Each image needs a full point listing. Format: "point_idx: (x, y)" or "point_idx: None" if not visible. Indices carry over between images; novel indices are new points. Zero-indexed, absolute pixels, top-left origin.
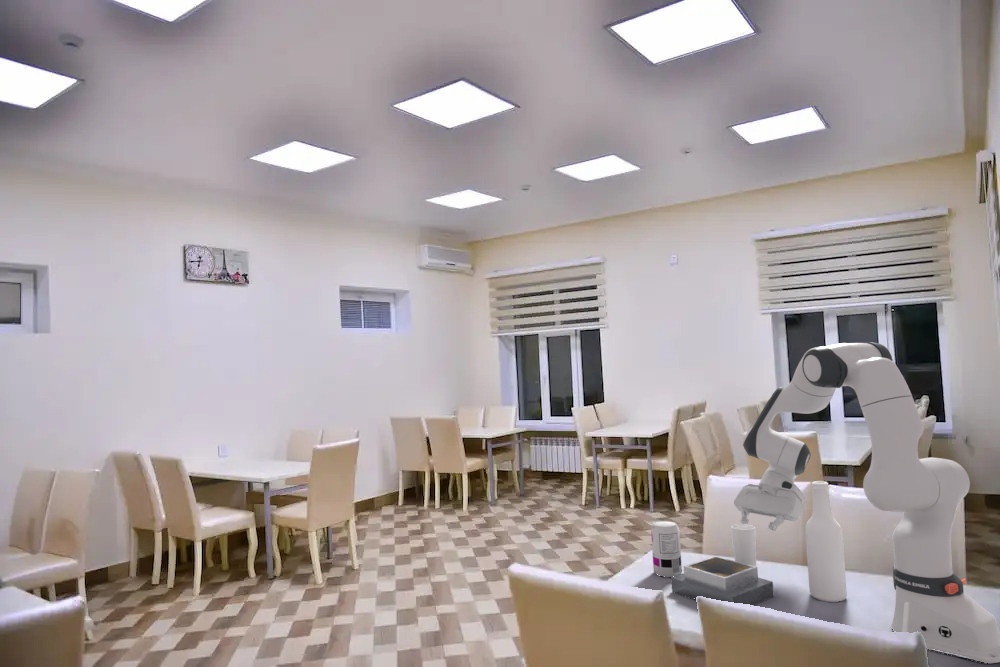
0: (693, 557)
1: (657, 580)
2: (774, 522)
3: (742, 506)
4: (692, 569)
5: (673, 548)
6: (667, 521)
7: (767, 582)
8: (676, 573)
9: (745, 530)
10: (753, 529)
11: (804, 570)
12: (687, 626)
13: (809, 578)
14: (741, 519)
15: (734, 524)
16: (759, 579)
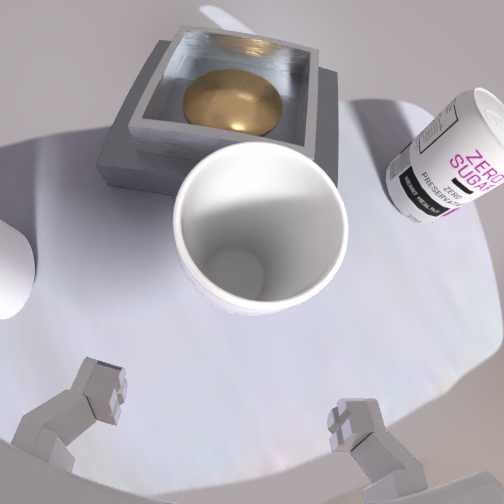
0: (443, 357)
1: (394, 141)
2: (71, 392)
3: (434, 487)
4: (287, 43)
5: (427, 131)
6: None
7: (107, 149)
8: (388, 171)
9: (211, 153)
10: (174, 207)
11: (127, 466)
12: (209, 11)
13: (8, 232)
14: (374, 406)
15: (344, 238)
16: (134, 158)
